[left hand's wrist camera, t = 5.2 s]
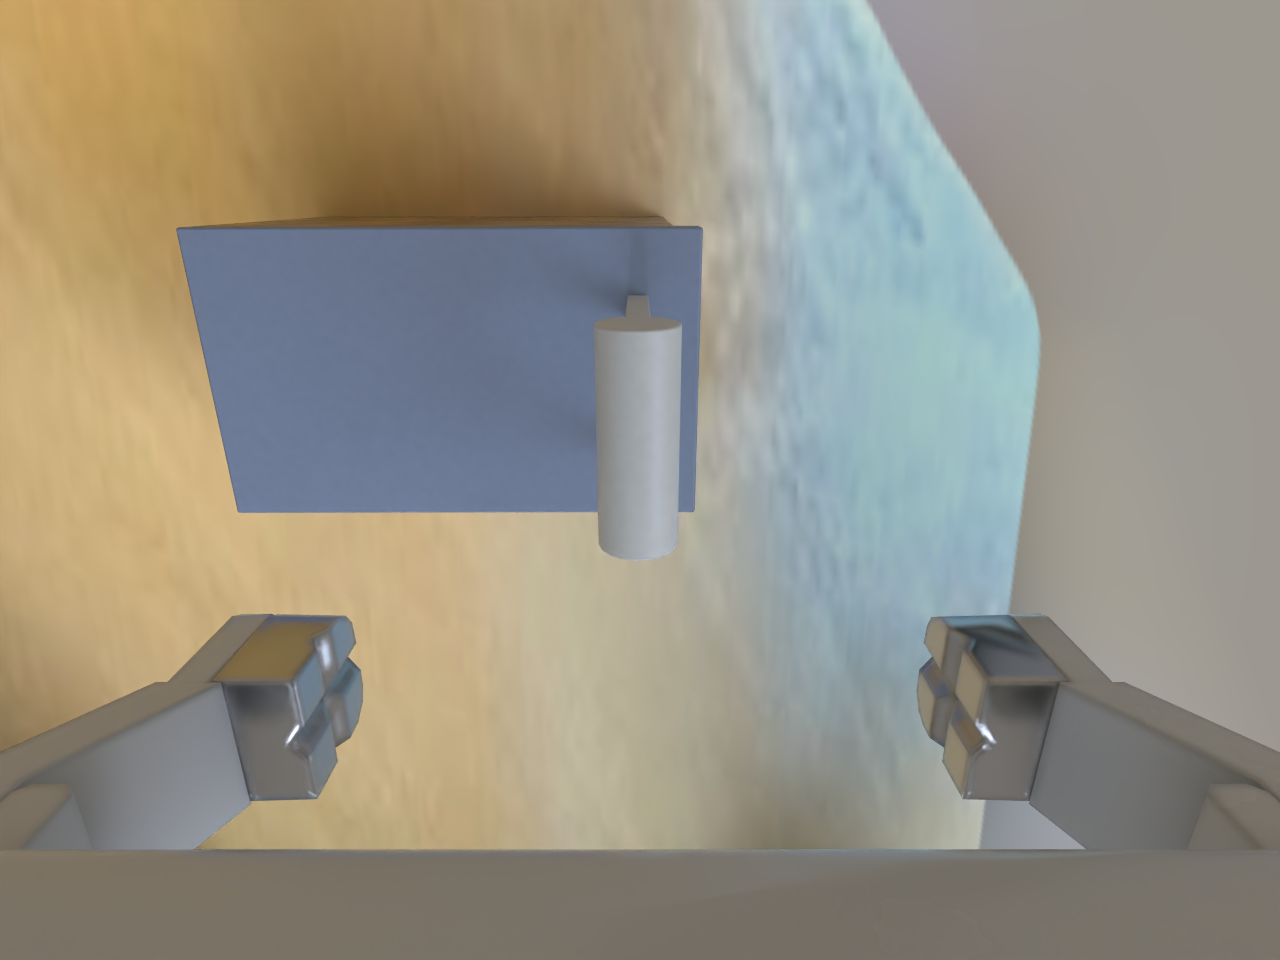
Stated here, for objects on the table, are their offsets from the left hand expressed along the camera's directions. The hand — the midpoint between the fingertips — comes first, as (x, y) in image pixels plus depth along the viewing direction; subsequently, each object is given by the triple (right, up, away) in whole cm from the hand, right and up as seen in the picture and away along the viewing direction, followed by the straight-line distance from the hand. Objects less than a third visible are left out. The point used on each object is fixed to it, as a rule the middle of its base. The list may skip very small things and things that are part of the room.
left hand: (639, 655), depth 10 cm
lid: (-6, +6, +16) cm, 19 cm away
